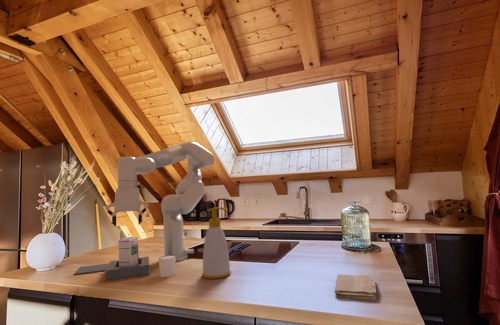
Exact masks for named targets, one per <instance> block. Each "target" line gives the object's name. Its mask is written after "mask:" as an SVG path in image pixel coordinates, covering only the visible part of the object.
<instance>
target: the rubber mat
mask: <svg viewBox="0 0 500 325" xmlns="http://www.w3.org/2000/svg"><path fill="white" fill-rule="evenodd" d="M109 263H110V262H109ZM109 263H101V264H93V265H84V266H80V267H78V269H77V270H76V271H75V272H74V273H73V276H79V275H80V276H81V275H87V274H93V273H95V274H96V273H101V272H105V271H106V269H107V267H108V265H109Z"/></svg>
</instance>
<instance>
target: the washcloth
mask: <svg viewBox="0 0 500 325" xmlns="http://www.w3.org/2000/svg"><path fill="white" fill-rule="evenodd" d="M376 293H377V286H376V282H375V279H374V275H370V274H369V275H367V274H361V275H358V274H357V275H354V274H353V275H352V274H337V277H336V281H335V287H334V294H335V297H334V298H337V299H338V298H339V299H344V300H353V301H354V300H356V301H366V302H367V301H368V302H375V301H376V300H377V299H376V298H377V294H376Z"/></svg>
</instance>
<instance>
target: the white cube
mask: <svg viewBox="0 0 500 325" xmlns="http://www.w3.org/2000/svg"><path fill="white" fill-rule="evenodd" d="M157 259H158V267H159V276H160V277H161V278H170V277H173V276H175V274H176V262H177V261H176V256H160V257H158V258H157Z"/></svg>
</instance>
